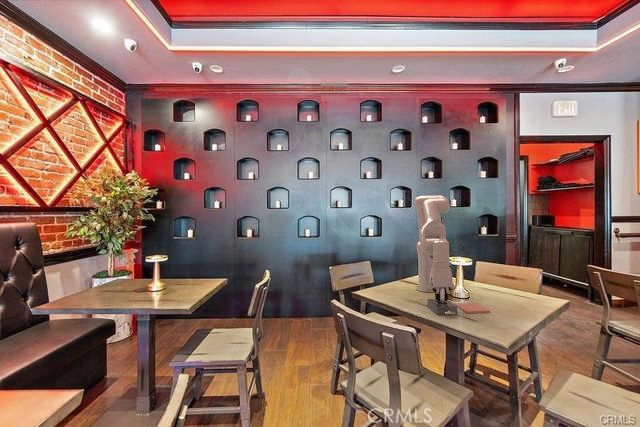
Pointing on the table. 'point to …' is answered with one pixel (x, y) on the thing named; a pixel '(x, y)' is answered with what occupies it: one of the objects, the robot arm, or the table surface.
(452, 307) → the vise block
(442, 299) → the steel peg
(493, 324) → the table surface
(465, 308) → the terracotta mat
